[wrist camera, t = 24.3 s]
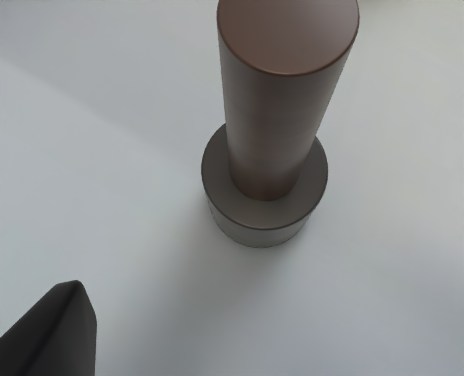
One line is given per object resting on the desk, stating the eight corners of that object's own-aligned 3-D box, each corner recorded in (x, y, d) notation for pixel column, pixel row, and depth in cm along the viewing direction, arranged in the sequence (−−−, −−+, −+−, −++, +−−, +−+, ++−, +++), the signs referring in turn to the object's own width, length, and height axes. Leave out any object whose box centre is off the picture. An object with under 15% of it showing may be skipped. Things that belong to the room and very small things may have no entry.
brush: (302, 257, 18) (410, 156, 6) (199, 237, 18) (127, 107, 7) (317, 159, 19) (430, -74, 8) (220, 142, 19) (188, -106, 8)
